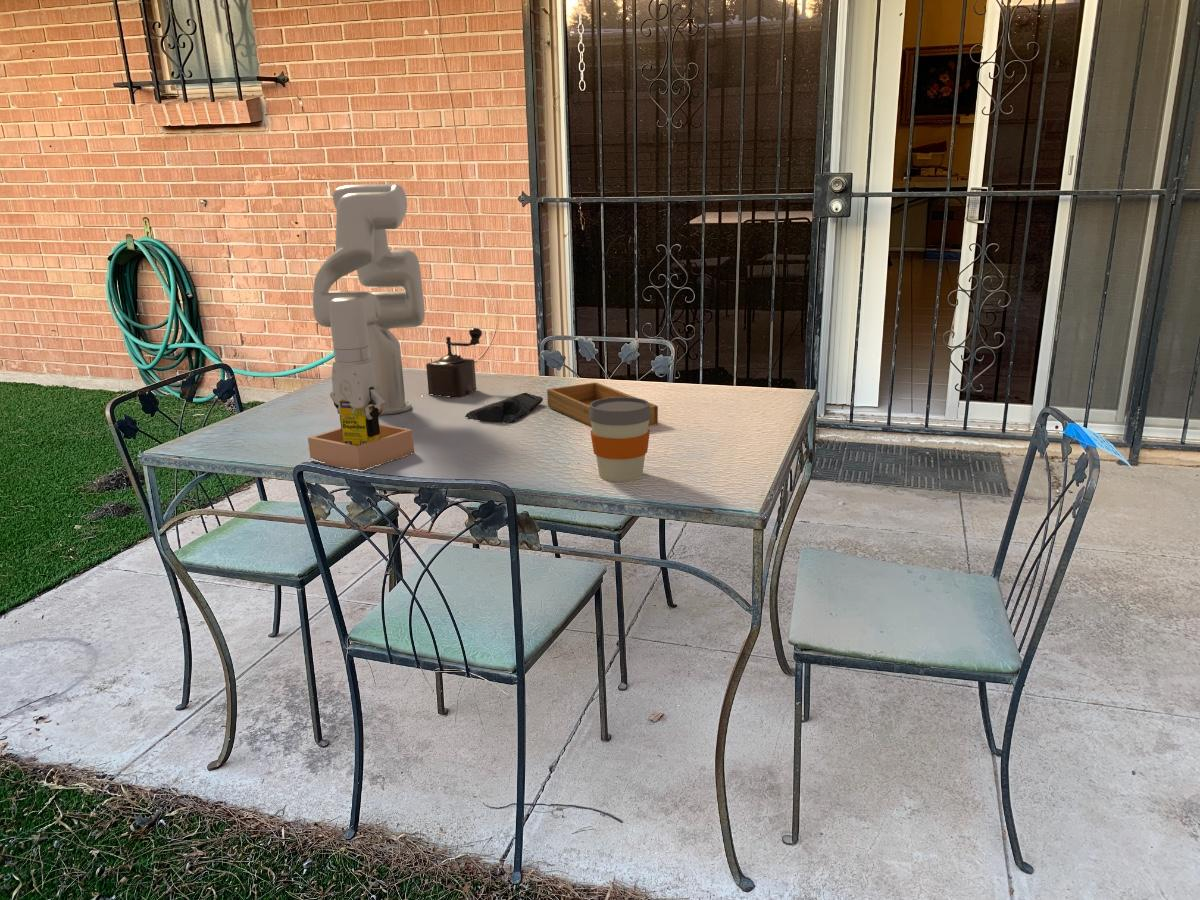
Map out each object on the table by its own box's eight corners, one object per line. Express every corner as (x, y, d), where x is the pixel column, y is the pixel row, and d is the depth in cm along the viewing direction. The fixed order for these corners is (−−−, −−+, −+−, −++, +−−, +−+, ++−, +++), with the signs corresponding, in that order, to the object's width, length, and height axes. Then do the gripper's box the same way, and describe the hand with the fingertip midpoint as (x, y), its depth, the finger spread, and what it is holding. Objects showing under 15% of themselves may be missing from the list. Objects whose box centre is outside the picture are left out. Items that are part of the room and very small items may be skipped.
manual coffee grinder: (459, 398, 249) (455, 335, 243) (427, 395, 253) (422, 333, 248) (488, 386, 262) (484, 327, 257) (457, 384, 266) (453, 325, 261)
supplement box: (343, 448, 193) (338, 400, 190) (355, 441, 199) (350, 394, 195) (369, 449, 192) (364, 401, 189) (380, 441, 198) (375, 394, 194)
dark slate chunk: (553, 406, 239) (552, 389, 237) (509, 426, 220) (508, 408, 219) (505, 401, 245) (504, 385, 244) (459, 420, 227) (458, 402, 225)
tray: (658, 426, 217) (658, 403, 215) (605, 435, 210) (604, 412, 208) (596, 401, 242) (596, 381, 241) (547, 409, 235) (546, 389, 234)
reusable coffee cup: (600, 463, 187) (598, 395, 183) (657, 467, 184) (657, 398, 179) (582, 482, 176) (580, 410, 172) (643, 486, 172) (642, 413, 168)
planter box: (310, 461, 194) (307, 437, 192) (365, 443, 207) (363, 420, 205) (360, 472, 185) (357, 447, 184) (414, 453, 198) (412, 429, 196)
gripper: (311, 354, 191) (321, 431, 196) (366, 361, 182) (375, 442, 187) (338, 348, 197) (347, 424, 202) (393, 355, 188) (400, 434, 193)
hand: (360, 432), depth 195 cm, fingers closed on supplement box, 7 cm apart
